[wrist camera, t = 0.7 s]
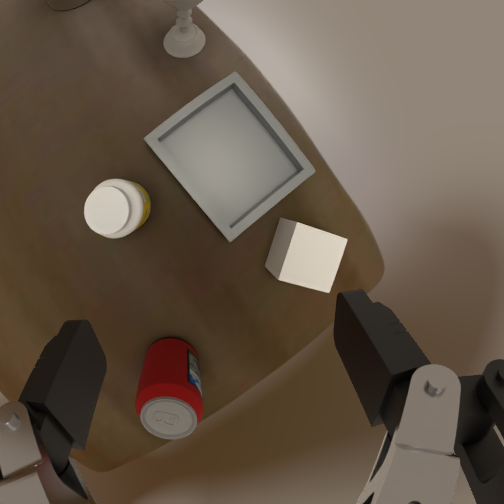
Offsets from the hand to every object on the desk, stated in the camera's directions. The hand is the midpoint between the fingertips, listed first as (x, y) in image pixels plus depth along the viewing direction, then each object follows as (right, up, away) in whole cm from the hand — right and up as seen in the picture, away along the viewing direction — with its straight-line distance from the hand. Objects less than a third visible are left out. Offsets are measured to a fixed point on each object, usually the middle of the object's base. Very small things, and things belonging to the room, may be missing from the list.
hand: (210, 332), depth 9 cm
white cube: (+6, +3, +27) cm, 28 cm away
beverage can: (-9, -11, +27) cm, 30 cm away
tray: (-1, +13, +24) cm, 27 cm away
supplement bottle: (-12, +8, +23) cm, 27 cm away
